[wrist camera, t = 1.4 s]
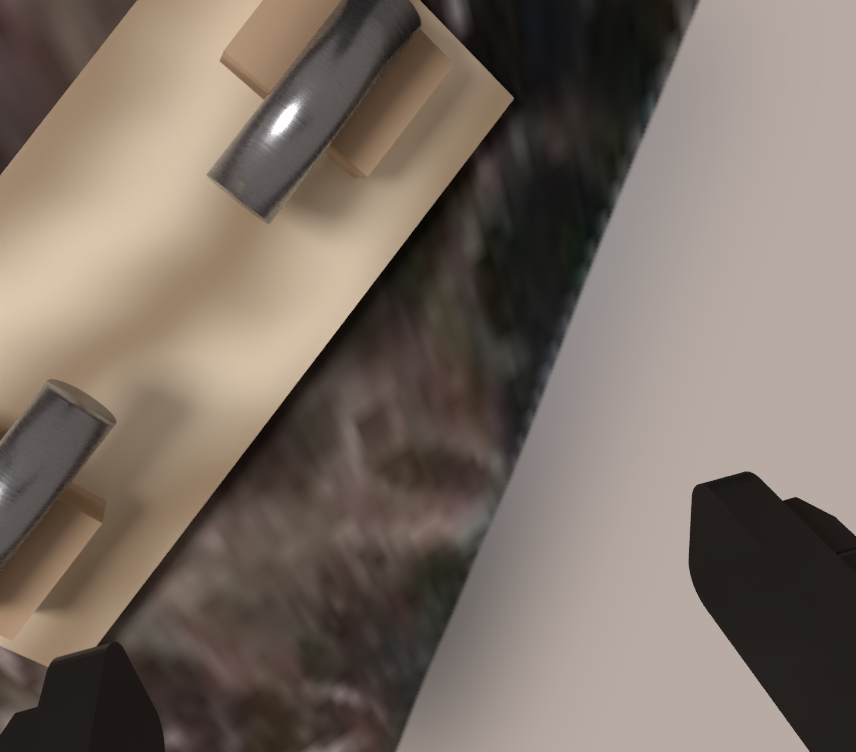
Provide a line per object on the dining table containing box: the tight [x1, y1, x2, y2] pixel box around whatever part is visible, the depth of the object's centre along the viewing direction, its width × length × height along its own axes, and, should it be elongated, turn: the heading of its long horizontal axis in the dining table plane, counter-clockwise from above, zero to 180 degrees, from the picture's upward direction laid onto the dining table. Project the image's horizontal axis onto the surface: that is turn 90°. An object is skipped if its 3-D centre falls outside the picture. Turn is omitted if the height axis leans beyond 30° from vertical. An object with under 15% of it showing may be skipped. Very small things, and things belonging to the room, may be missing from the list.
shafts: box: [0, 0, 421, 574], centre depth 24 cm, size 2×24×2 cm, turn 140°
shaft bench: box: [0, 0, 514, 667], centre depth 26 cm, size 12×28×3 cm, turn 140°
